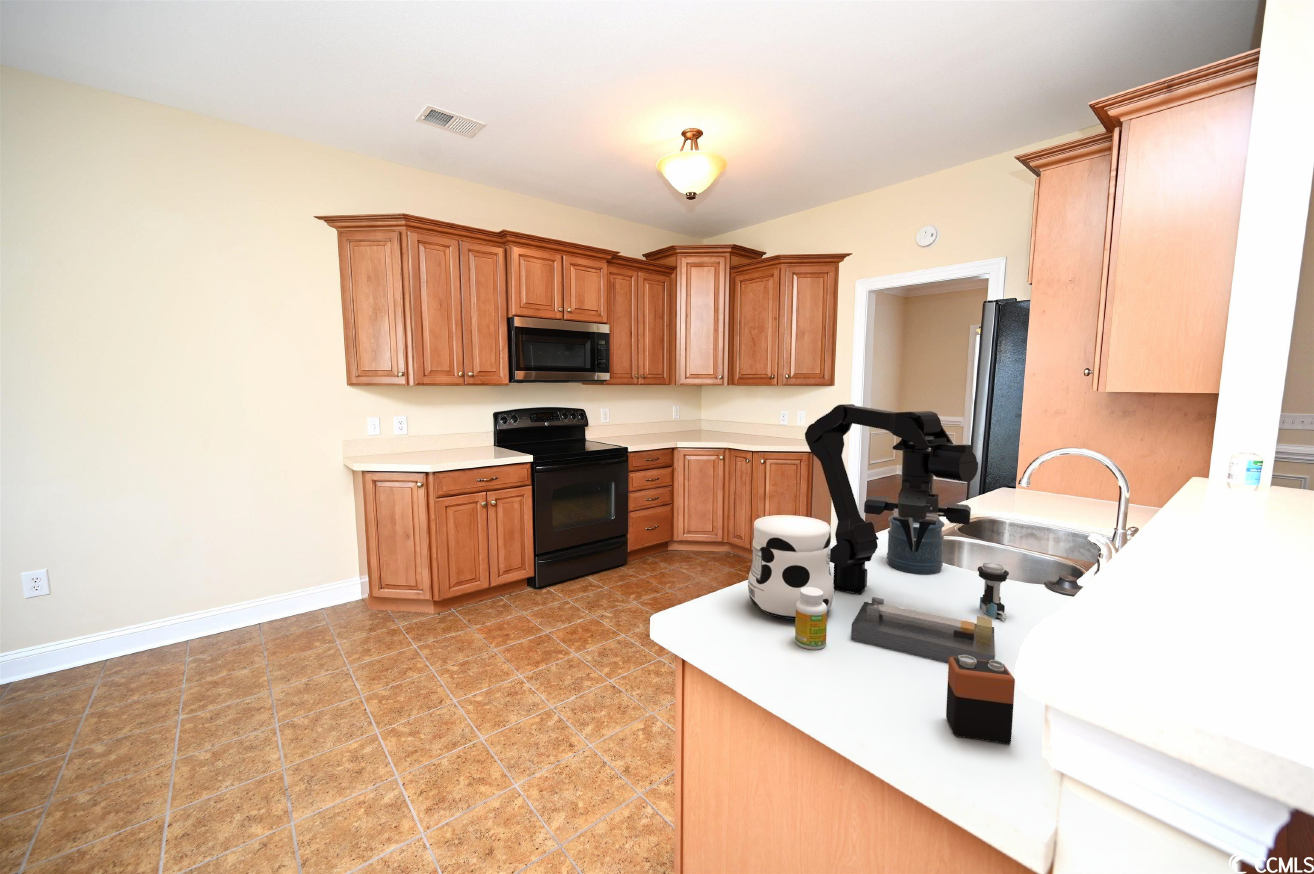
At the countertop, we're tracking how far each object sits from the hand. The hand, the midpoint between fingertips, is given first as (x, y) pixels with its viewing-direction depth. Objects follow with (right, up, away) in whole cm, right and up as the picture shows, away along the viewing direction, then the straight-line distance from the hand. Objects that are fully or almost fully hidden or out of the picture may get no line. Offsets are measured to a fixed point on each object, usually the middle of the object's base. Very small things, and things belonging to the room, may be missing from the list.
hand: (914, 551), depth 107 cm
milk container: (-24, -13, +4) cm, 28 cm away
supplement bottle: (-24, -14, -11) cm, 30 cm away
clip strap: (-4, -10, -11) cm, 15 cm away
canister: (+14, -10, +30) cm, 35 cm away
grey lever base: (-4, -14, -10) cm, 18 cm away
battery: (-9, -17, -35) cm, 40 cm away
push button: (+16, -13, +1) cm, 21 cm away
